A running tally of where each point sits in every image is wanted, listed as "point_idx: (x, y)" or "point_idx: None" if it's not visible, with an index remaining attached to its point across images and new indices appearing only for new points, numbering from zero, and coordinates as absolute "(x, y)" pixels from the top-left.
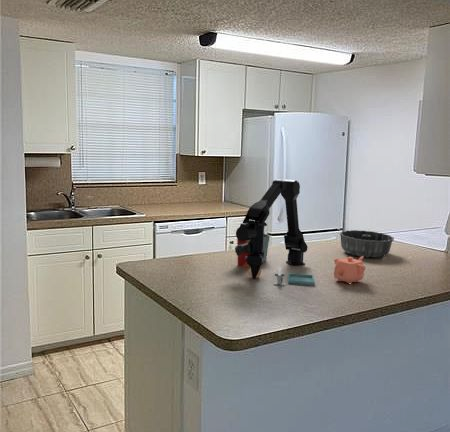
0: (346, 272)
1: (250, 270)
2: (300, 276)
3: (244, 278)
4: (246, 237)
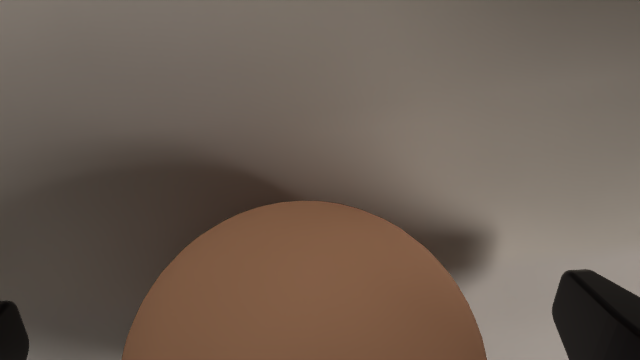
0: None
1: (169, 345)
2: None
3: (172, 47)
4: None
